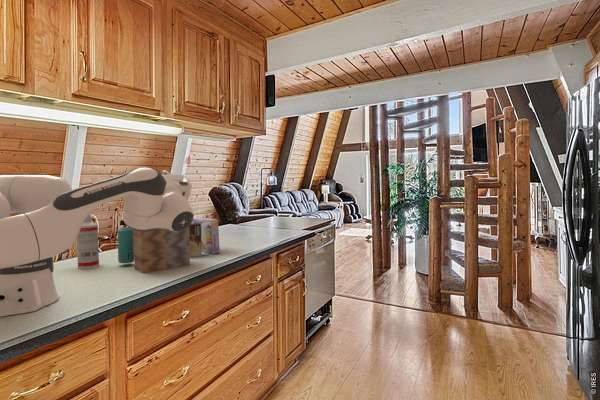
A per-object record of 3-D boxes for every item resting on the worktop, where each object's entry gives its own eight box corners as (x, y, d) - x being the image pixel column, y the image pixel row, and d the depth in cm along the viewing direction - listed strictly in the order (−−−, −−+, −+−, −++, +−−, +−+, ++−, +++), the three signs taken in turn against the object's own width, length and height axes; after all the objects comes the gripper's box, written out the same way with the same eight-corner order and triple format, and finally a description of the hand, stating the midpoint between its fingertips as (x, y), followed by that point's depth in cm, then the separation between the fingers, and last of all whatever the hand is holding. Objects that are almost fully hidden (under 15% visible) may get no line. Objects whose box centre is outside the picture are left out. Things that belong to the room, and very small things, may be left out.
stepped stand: (142, 273, 136) (140, 203, 134) (134, 268, 143) (132, 202, 142) (189, 264, 149) (188, 201, 148) (180, 260, 157) (179, 200, 155)
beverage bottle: (128, 267, 145) (126, 221, 143) (114, 266, 146) (113, 220, 145) (138, 263, 151) (137, 219, 150) (125, 262, 152) (123, 218, 151)
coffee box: (200, 253, 171) (199, 222, 170) (202, 256, 165) (201, 224, 164) (181, 255, 168) (180, 223, 167) (182, 258, 162) (181, 225, 161)
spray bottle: (100, 266, 145) (98, 209, 144) (79, 269, 140) (77, 210, 139) (96, 263, 151) (94, 207, 150) (76, 266, 146) (74, 208, 145)
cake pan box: (191, 249, 181) (191, 217, 180) (199, 248, 185) (199, 216, 184) (211, 255, 169) (211, 220, 168) (220, 253, 172) (219, 219, 171)
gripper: (127, 203, 100) (114, 179, 109) (192, 200, 114) (177, 179, 123) (130, 184, 98) (117, 162, 106) (196, 184, 112) (180, 164, 120)
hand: (149, 171), depth 114 cm, fingers open, 8 cm apart
